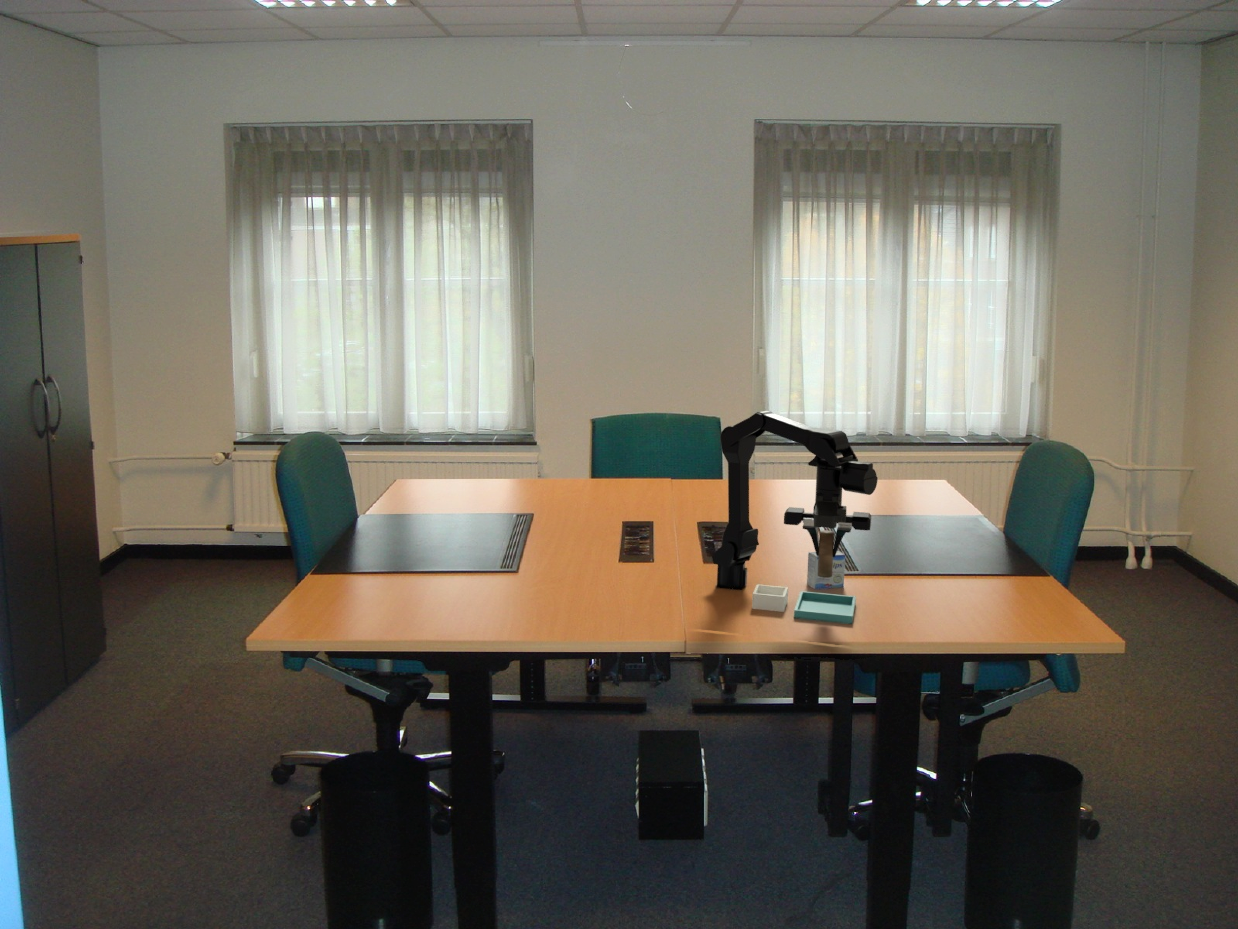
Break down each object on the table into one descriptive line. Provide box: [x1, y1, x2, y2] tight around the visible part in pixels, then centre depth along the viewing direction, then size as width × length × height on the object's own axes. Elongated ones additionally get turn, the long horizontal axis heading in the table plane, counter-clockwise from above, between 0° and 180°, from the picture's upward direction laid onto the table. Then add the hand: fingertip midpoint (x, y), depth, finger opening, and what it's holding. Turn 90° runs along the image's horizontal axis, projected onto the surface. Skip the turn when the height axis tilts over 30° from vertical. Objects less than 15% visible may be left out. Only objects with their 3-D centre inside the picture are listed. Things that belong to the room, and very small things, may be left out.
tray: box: [793, 590, 857, 625], centre depth 239 cm, size 13×14×2 cm
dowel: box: [818, 529, 835, 578], centre depth 236 cm, size 3×3×10 cm
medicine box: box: [806, 550, 846, 590], centre depth 257 cm, size 8×4×9 cm, turn 105°
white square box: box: [751, 584, 789, 613], centre depth 242 cm, size 7×7×4 cm
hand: (825, 556), depth 237 cm, fingers closed on dowel, 3 cm apart
